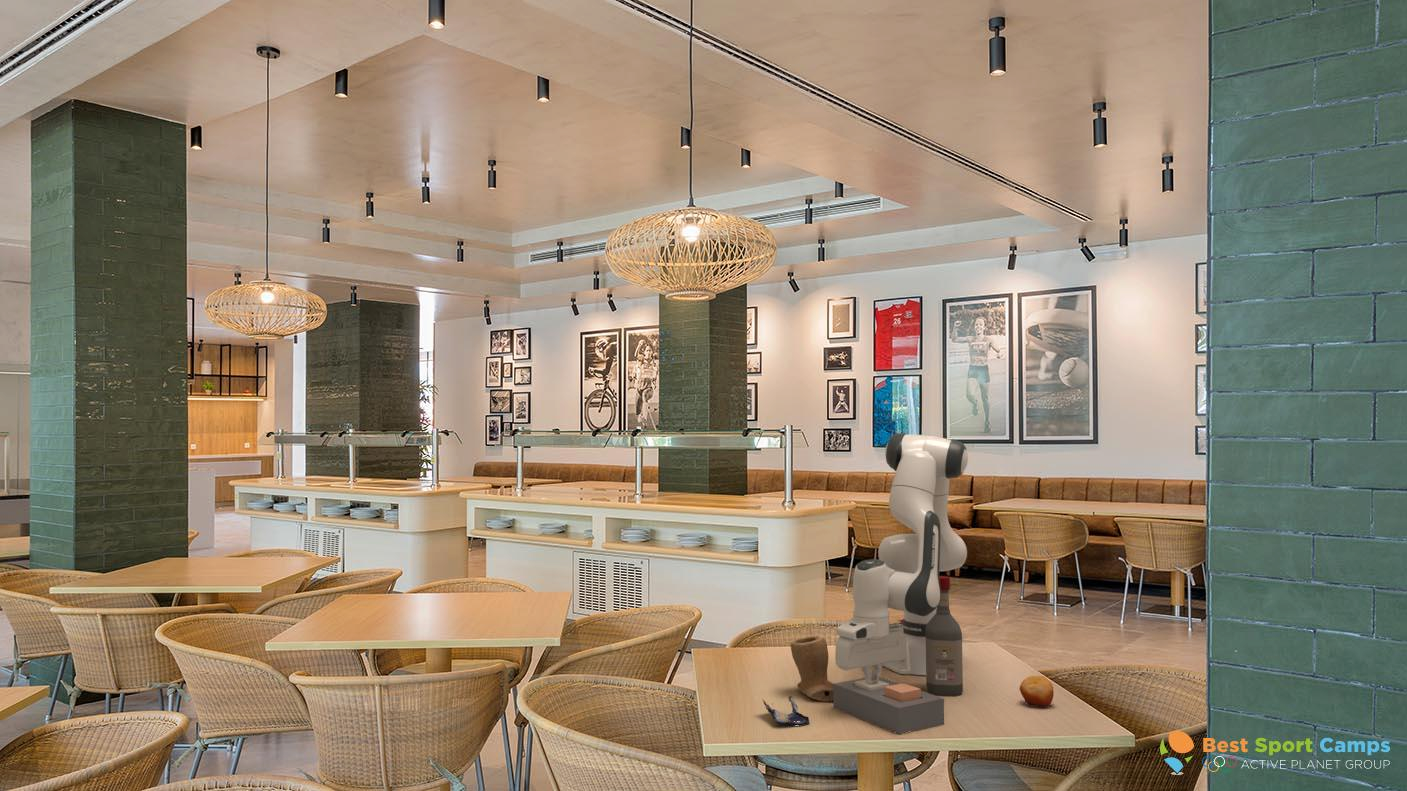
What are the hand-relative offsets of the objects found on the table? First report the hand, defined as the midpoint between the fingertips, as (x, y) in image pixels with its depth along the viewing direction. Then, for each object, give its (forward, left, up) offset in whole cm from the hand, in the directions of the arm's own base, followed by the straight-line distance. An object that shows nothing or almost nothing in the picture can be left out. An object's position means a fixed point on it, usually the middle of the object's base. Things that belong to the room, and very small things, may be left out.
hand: (871, 682), depth 235 cm
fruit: (+19, +38, -7) cm, 43 cm away
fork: (-6, +14, -7) cm, 17 cm away
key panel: (+6, 0, -7) cm, 9 cm away
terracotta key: (+11, 0, -2) cm, 11 cm away
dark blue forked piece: (-5, -23, -7) cm, 25 cm away
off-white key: (0, 0, -3) cm, 3 cm away
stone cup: (-17, -4, -7) cm, 19 cm away
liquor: (-2, +27, -7) cm, 28 cm away
